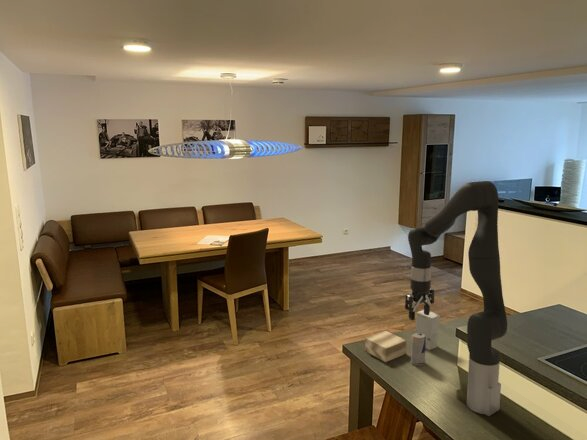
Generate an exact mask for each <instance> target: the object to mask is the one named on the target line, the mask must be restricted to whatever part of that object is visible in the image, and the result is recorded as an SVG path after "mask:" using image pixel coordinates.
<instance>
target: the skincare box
mask: <svg viewBox="0 0 587 440" xmlns="http://www.w3.org/2000/svg"><path fill="white" fill-rule="evenodd" d="M415 320H416V323H415V332H420V333H423V334H425V337H426V345H425V350H428V351H431V350H433V349H436V348H437V347H438V346H439V345H438V342H439V331H440V320H441V315H439V314H438V313H435V312H433V311H430V313H429V315H425V314H424V309H422V310H419V311H417V312H416V319H415ZM415 332H414V333H415Z"/></svg>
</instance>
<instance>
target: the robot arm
mask: <svg viewBox="0 0 587 440" xmlns="http://www.w3.org/2000/svg"><path fill="white" fill-rule="evenodd" d="M471 211H472V212H475V211H477V226H476V229H475V232H474V234H473V237H472V239H471V241H470V245H469V247H468V254H467V255H468V268H469V272H470V275H471V277H472V278H473V280H474V283H475V284H476V286H477V287H478V288H479V291H480V292H481V295H482V300H483V310H482V311H479V312H476V313H473V314H472V315H470V316H469V318H468V321H467V326H466V334H467V335H466V337H467V338H466V343H467V344H466V345H467V350H468V373H467V388H466V389H467V391H466V392H467V393H466V406H467V408H468V409H469V410H471V411H473V412H475V413H478V414H479V415H485V416H487V417H490V416H492V415H494V414H496V412H498V411H499V410H500V405H501V404H500V403H501V390H502V389H501V388H502V383H500V382H499V379H500V378H499V376H500V365H501V353H500V352H499V351H498V350H497V349H496V348H494V347H492V341H494V340H495V341H496V340H497V339H501V338H503V337H504V336H505V335H506V334H507V332H508V318H507V312H506V308H505V307H506V306H505V303H504V297H503V285H502V276H501V260H500V259H501V257H500V247H499V233H498V232H499V230H498V229H499V228H498V227H499V226H498V222H499V220H498V218H499V193H498V189H497V187H496V185H495V183H493V182H492V181H489V180H483V181H482V180H481V181H471V182H466V183H464V184H463V185H461V187H459V188H458V190H457V191H455V193H454V194H453V195H452V197H451V198H450V199H449V200H448V201H447V202H446V203H445V205H443V207H442V208H441V209H440V210H438V212H436V213H435V214H434V215H432V216H431V217H429V218H428V219H427V220H426V221H425V223H424V226H417V227H412V228H411V229H410V230H409V232H408V234H407V235H408V236H407V239H408V244H409V249H410V252H411V269H410V289H411V294H408V293H407V294H405V303H404V309H405V310H407V311H408V318H409V320H410V321H415V320H416V319H415V317H416V309H417V307H419V305H420V304H423V303H424V304H423V310H424V314H425V315H429V313H430V312H431V306H432V304H435V289H434V288H431V286H432V285H431V283H432V267H431V266H432V254H431V252H430V251H427V250H424V249H423V246H428V245H429V246H430V245H432V244H434V243H435V242H437V241H438V240H439V238H440V237H441V235H443V234H444V233H446V232H447V231H448V230H450V229H451V228H452V227H453V226H454V225H455V223H456V219H457V218H458V217H460V216H461V215H464V214H466V213H468V212H471Z"/></svg>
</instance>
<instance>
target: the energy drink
mask: <svg viewBox="0 0 587 440" xmlns="http://www.w3.org/2000/svg"><path fill="white" fill-rule="evenodd" d="M425 345H426V337H425V334H423V333H420V332H413V333H412V335H411V347H410V348H411V350H410V351H411V352H410V353H411V356H410V362H411V364H412V365H413V366H418V367H421V366H424V365H425V364H426V348H425Z"/></svg>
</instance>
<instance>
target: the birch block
mask: <svg viewBox="0 0 587 440" xmlns="http://www.w3.org/2000/svg"><path fill="white" fill-rule="evenodd" d="M364 351H365V352H366V351H367V352H366V353H368V354H370V355H371V356H374V357H375V358H377V359H378V360H381V361H383V362H385V363H387V362H389V361H392V360H394V359H397V358H399V357H402V356H404V355H406V354H407V340H406V339H404V338H402V337H400V336H397V335H396V334H394V333H391V332H389V331H387V330H383V331H381V332H377V333H375V334H372V335H369V336H366V337H364Z"/></svg>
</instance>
